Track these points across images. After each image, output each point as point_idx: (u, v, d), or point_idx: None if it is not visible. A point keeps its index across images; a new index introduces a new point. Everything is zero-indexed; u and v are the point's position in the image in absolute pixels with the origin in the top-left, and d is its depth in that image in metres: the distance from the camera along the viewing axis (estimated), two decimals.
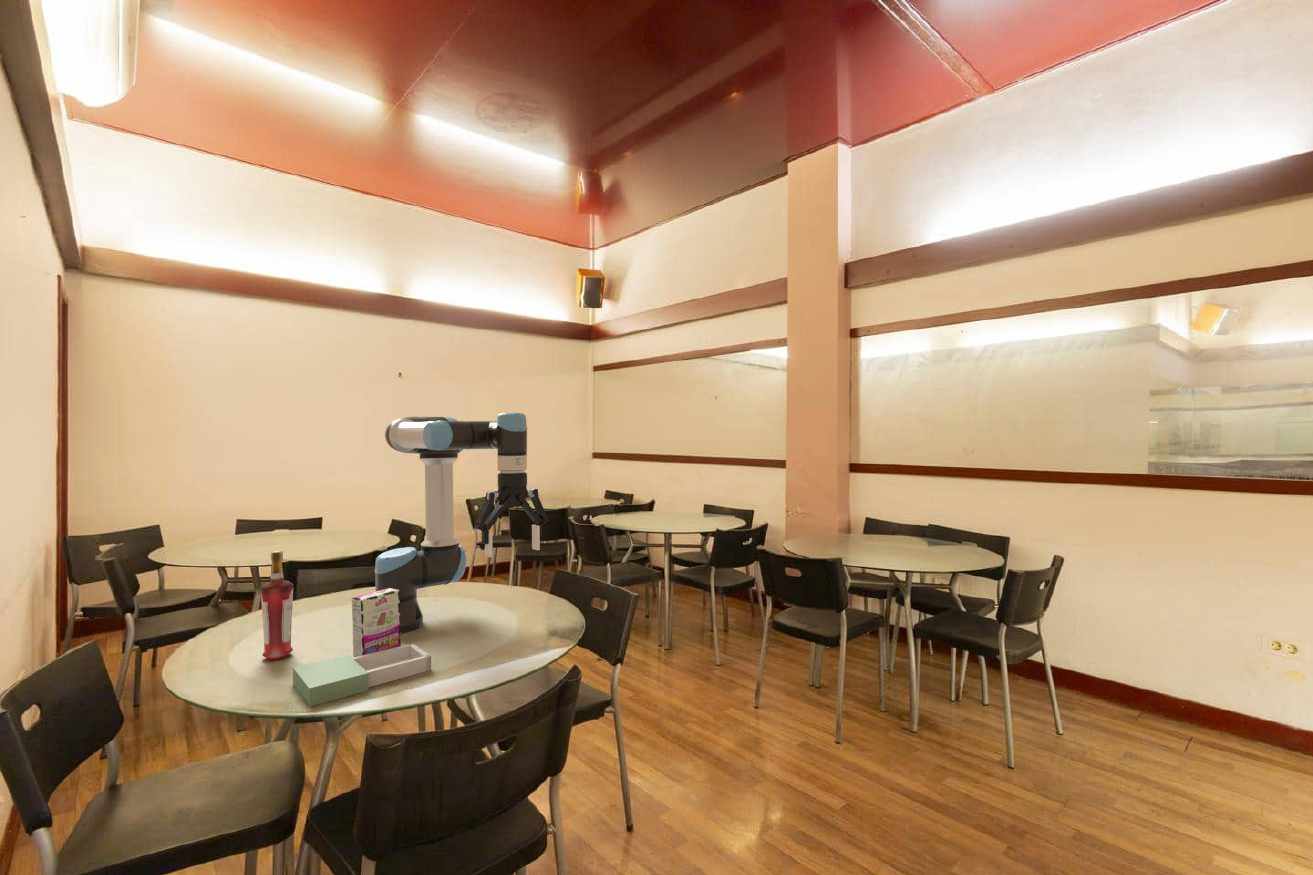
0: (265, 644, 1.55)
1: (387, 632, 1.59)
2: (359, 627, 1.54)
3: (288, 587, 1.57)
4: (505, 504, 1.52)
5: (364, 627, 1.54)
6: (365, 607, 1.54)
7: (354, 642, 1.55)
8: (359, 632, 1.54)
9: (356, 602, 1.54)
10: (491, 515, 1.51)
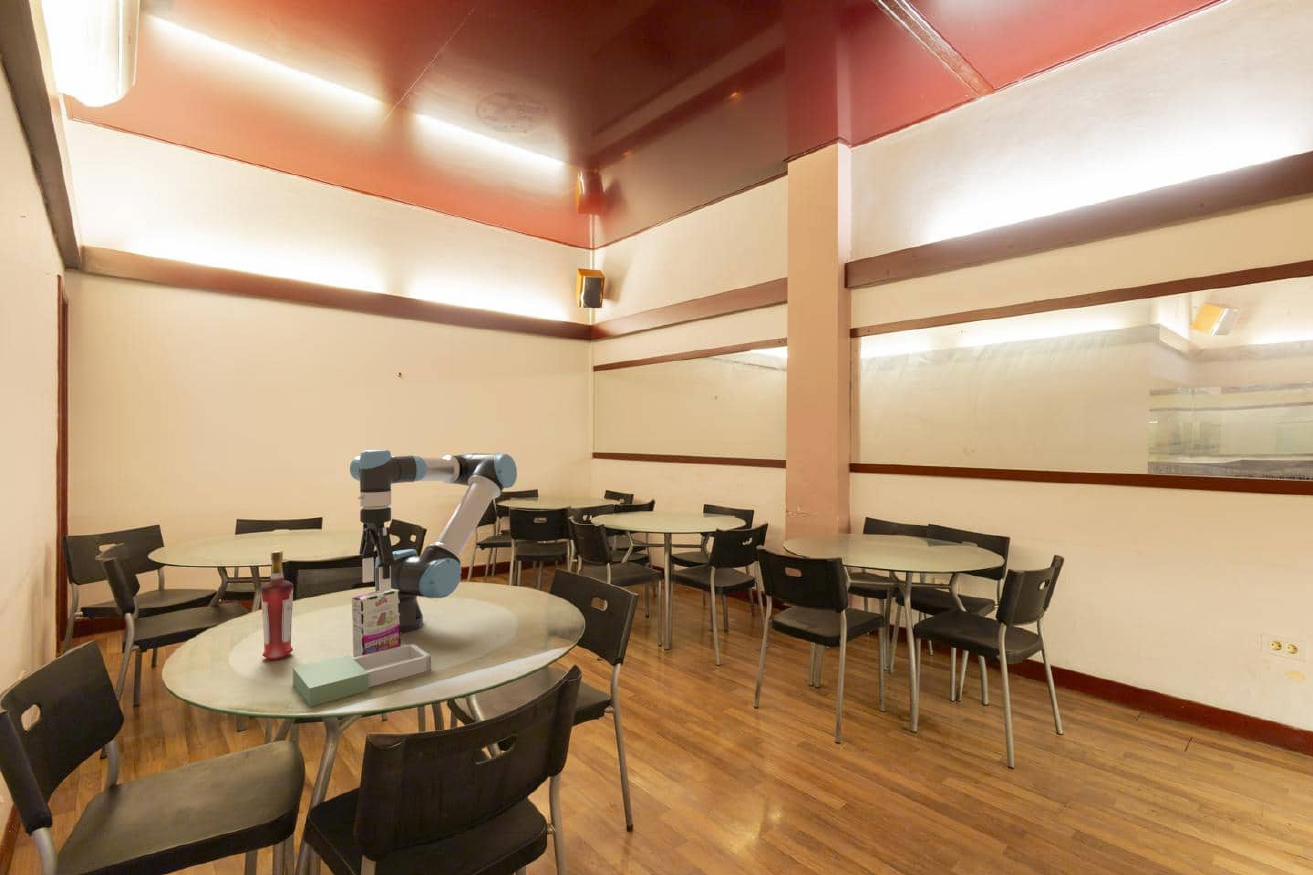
0: (265, 644, 1.55)
1: (387, 632, 1.59)
2: (359, 627, 1.54)
3: (288, 587, 1.57)
4: (365, 537, 1.60)
5: (364, 627, 1.54)
6: (365, 606, 1.54)
7: (354, 642, 1.55)
8: (359, 632, 1.54)
9: (356, 602, 1.54)
10: None
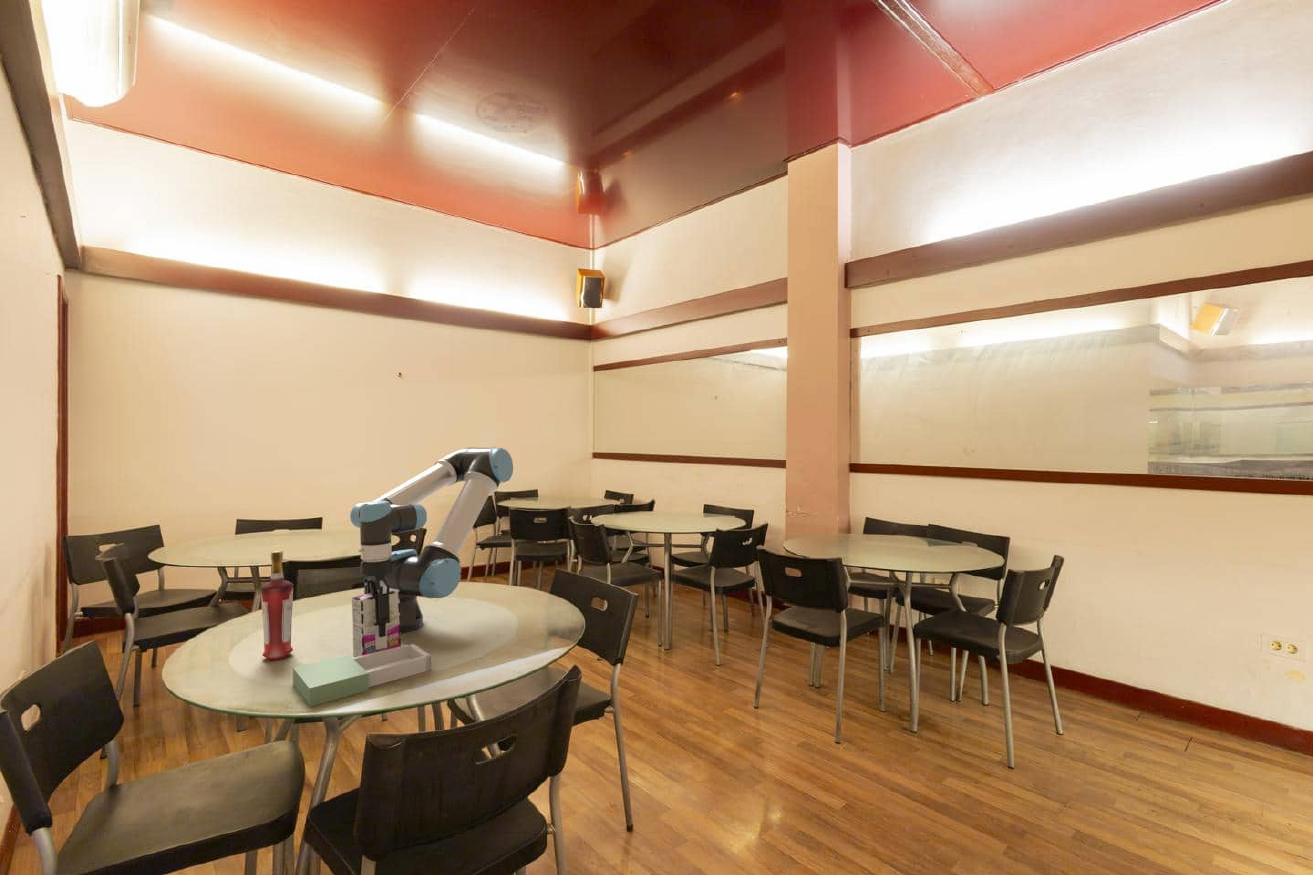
0: (265, 644, 1.55)
1: (387, 632, 1.59)
2: (359, 627, 1.54)
3: (288, 587, 1.57)
4: (367, 590, 1.60)
5: (364, 627, 1.54)
6: (365, 606, 1.54)
7: (354, 642, 1.55)
8: (359, 632, 1.54)
9: (357, 602, 1.54)
10: None
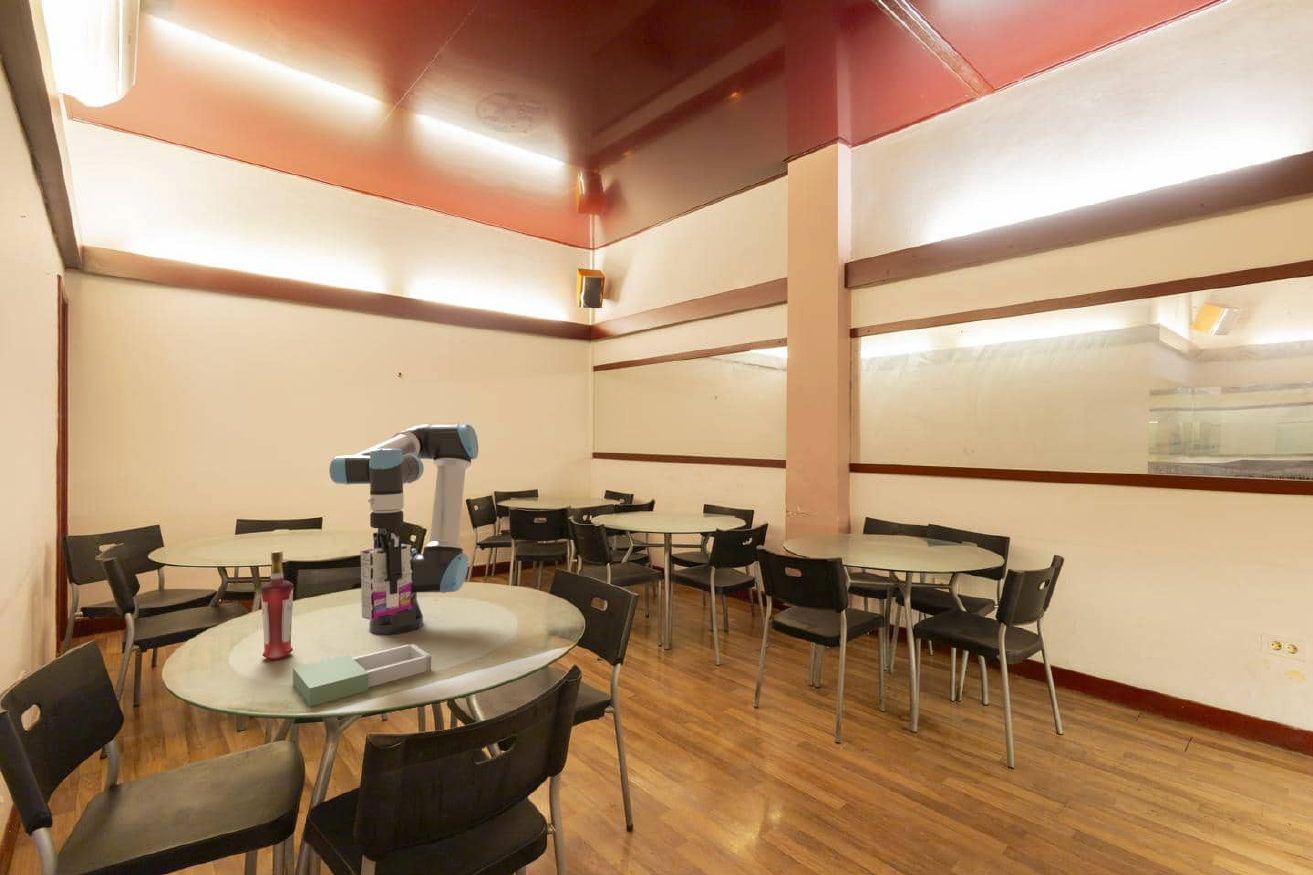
0: (265, 644, 1.55)
1: (399, 590, 1.47)
2: (368, 583, 1.42)
3: (288, 587, 1.57)
4: (377, 545, 1.47)
5: (373, 583, 1.41)
6: (374, 560, 1.42)
7: (363, 599, 1.43)
8: (369, 588, 1.41)
9: (366, 556, 1.42)
10: None
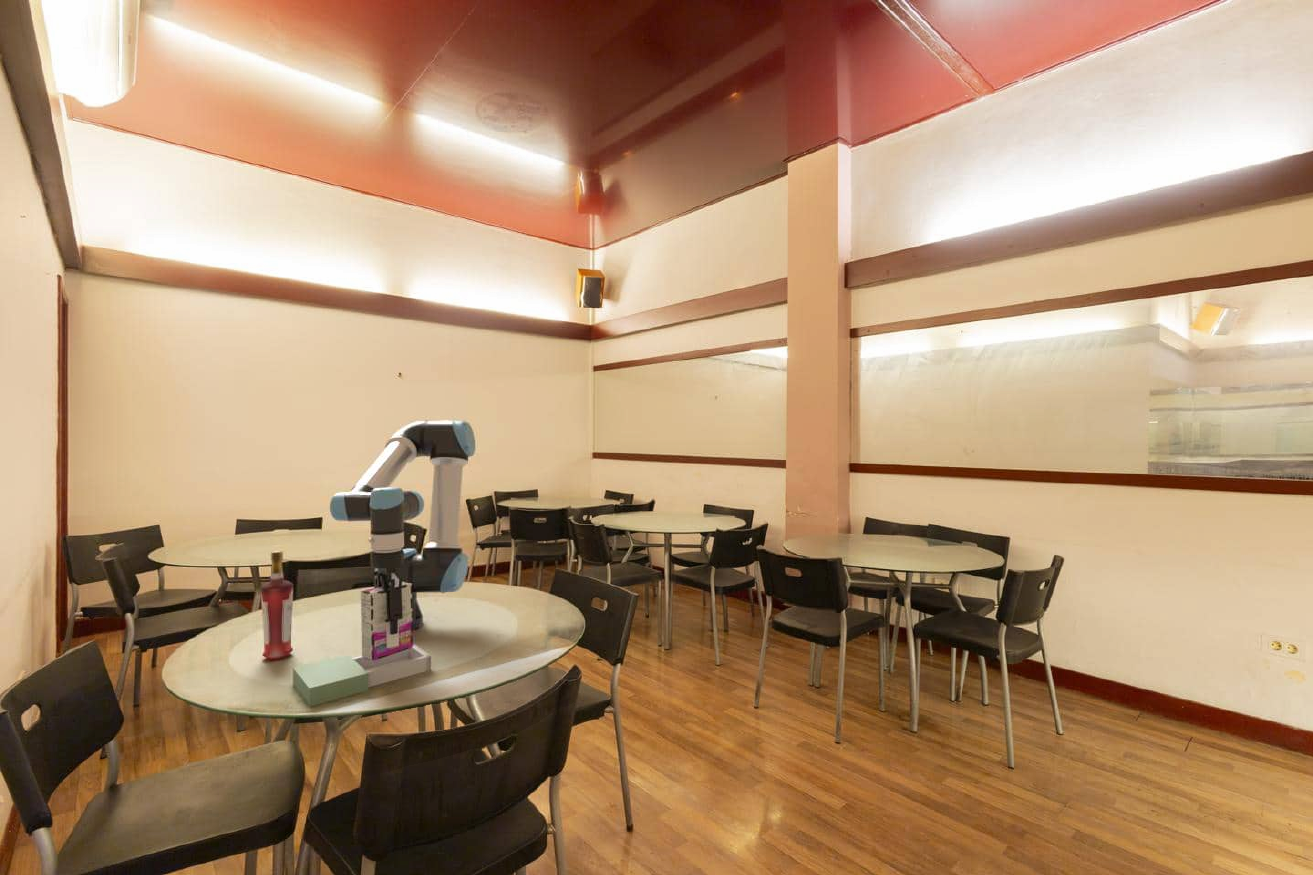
0: (265, 644, 1.55)
1: (399, 629, 1.47)
2: (368, 624, 1.42)
3: (288, 587, 1.57)
4: (377, 584, 1.47)
5: (373, 623, 1.41)
6: (375, 601, 1.42)
7: (363, 640, 1.43)
8: (369, 628, 1.41)
9: (366, 596, 1.42)
10: None
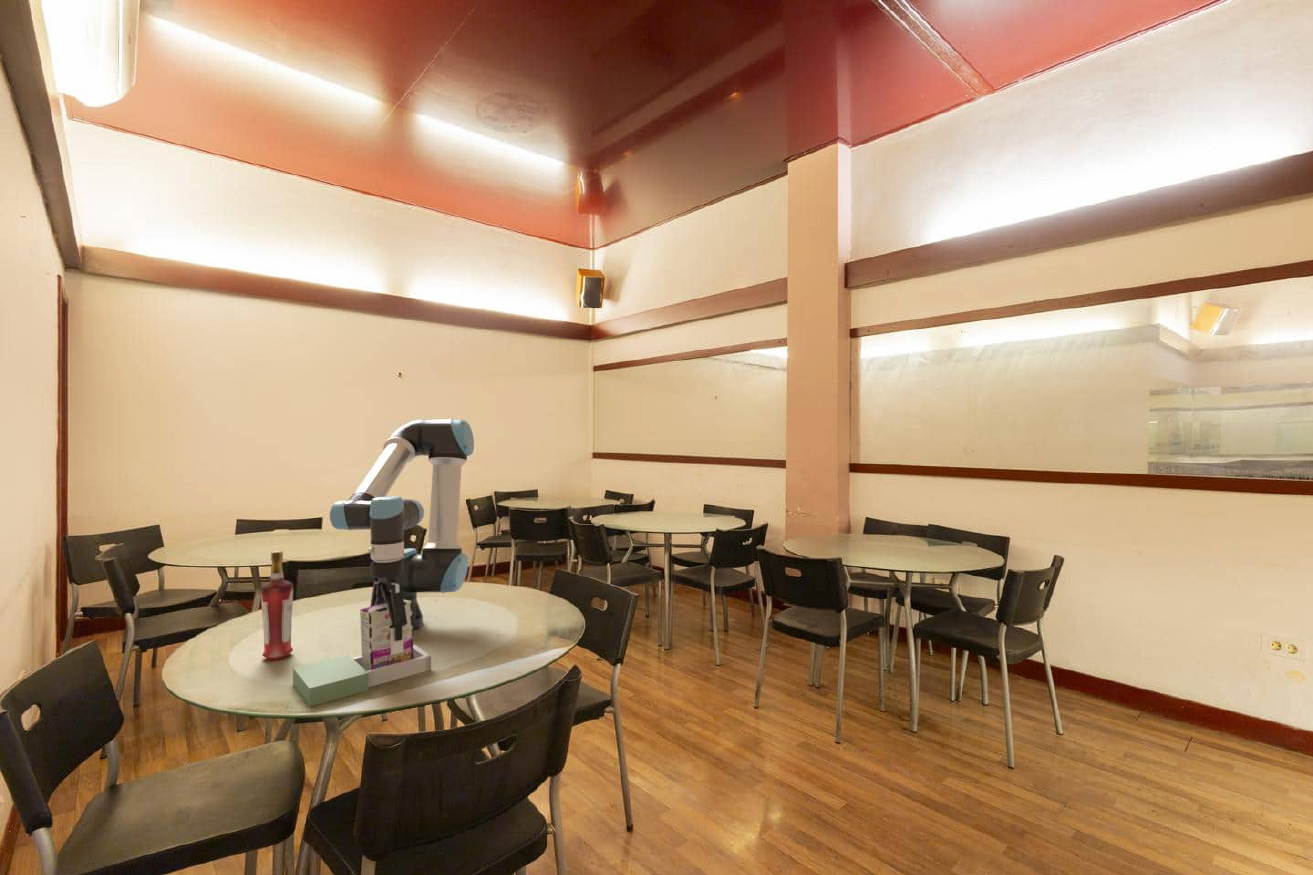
0: (265, 644, 1.55)
1: None
2: (367, 642, 1.42)
3: (288, 587, 1.57)
4: (376, 591, 1.48)
5: (372, 642, 1.42)
6: (373, 619, 1.42)
7: (363, 657, 1.44)
8: (368, 647, 1.42)
9: (365, 614, 1.43)
10: None
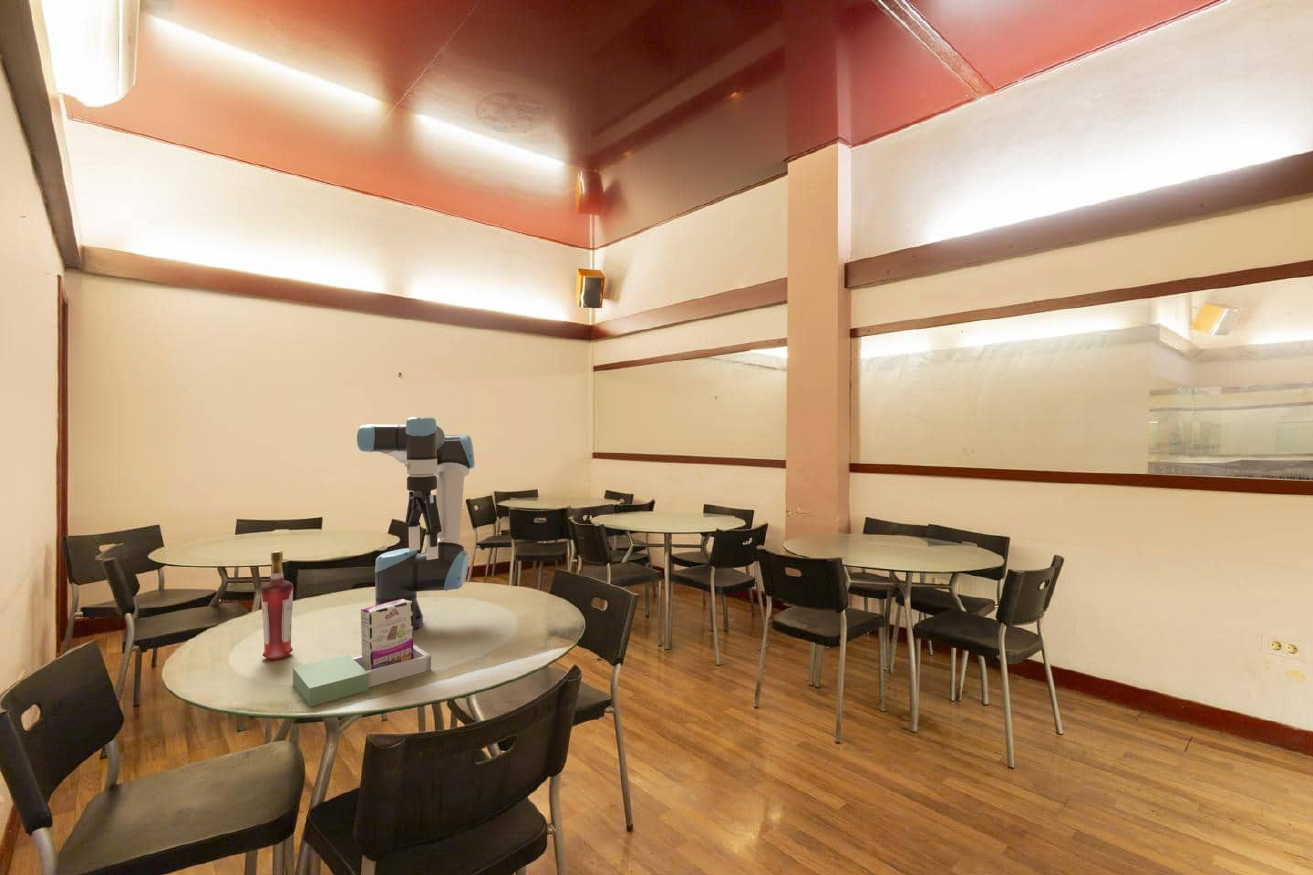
0: (265, 644, 1.55)
1: (399, 647, 1.47)
2: (367, 642, 1.42)
3: (288, 587, 1.57)
4: (412, 505, 1.59)
5: (372, 642, 1.42)
6: (373, 620, 1.42)
7: (363, 658, 1.43)
8: (368, 647, 1.42)
9: (365, 615, 1.42)
10: None
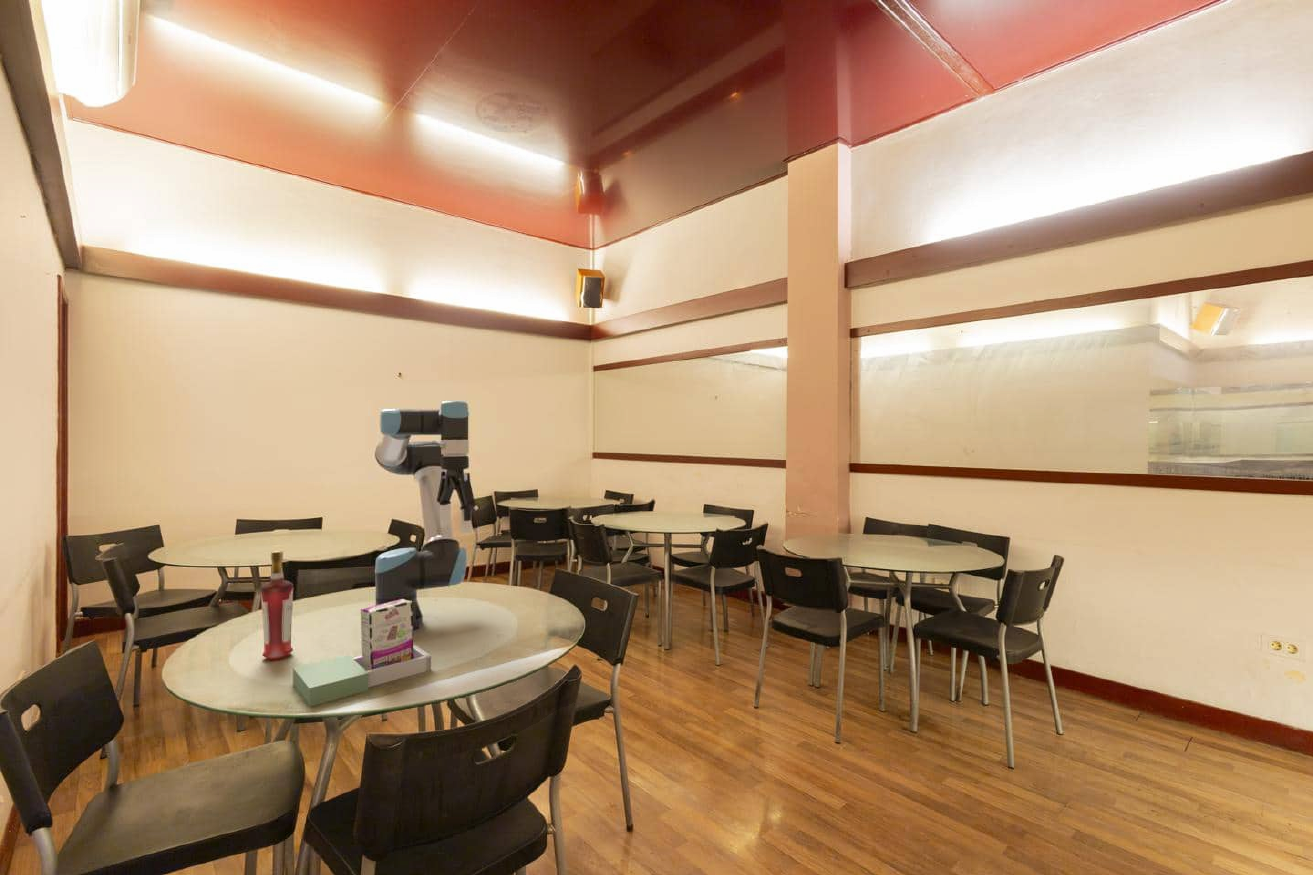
0: (266, 644, 1.55)
1: (399, 647, 1.47)
2: (367, 642, 1.42)
3: (288, 587, 1.57)
4: (445, 483, 1.70)
5: (372, 642, 1.42)
6: (373, 620, 1.42)
7: (363, 658, 1.43)
8: (368, 647, 1.42)
9: (365, 615, 1.42)
10: None
